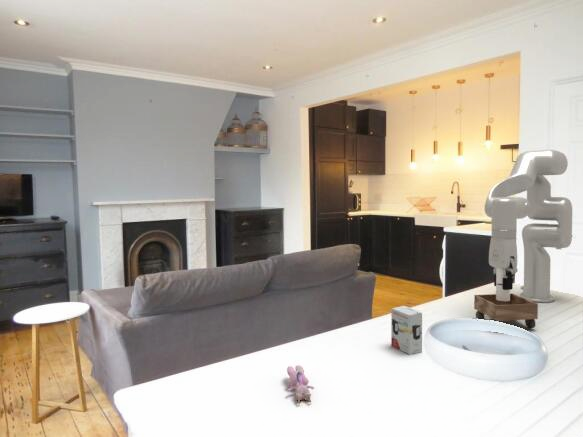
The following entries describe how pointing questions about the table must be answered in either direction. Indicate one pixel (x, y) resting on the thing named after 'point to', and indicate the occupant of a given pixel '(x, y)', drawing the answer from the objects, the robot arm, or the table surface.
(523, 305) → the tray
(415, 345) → the ink box
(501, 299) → the tube
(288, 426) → the table surface
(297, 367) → the rabbit figure
